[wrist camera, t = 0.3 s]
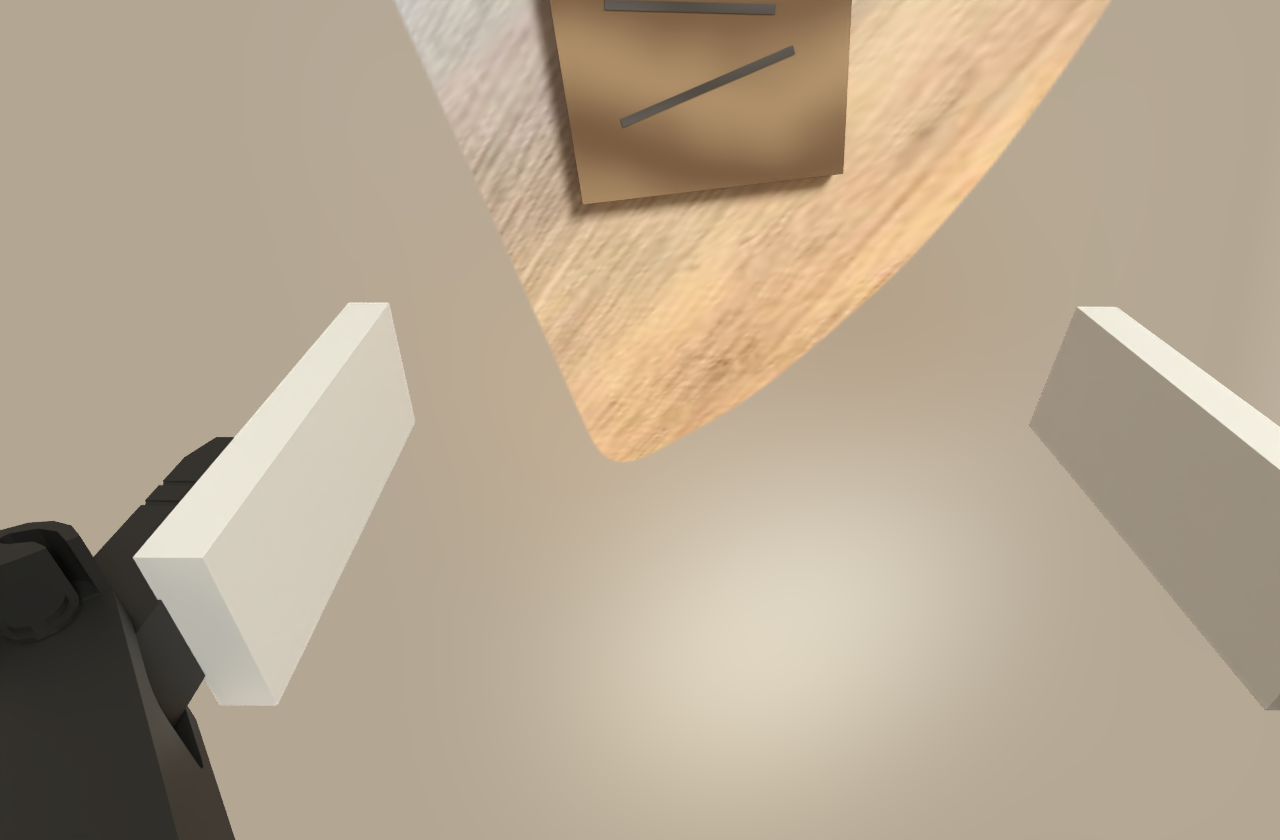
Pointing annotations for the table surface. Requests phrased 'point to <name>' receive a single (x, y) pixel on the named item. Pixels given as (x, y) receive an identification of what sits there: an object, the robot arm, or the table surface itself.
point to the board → (702, 92)
